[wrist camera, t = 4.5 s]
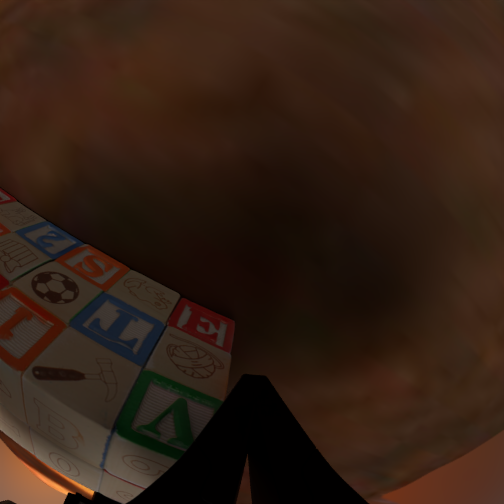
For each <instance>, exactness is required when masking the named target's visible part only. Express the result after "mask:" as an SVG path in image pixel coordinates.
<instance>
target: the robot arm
mask: <svg viewBox="0 0 504 504" xmlns="http://www.w3.org/2000/svg"><path fill="white" fill-rule="evenodd" d="M247 454H248V463H249V475H250V486H251V498H252V504H369V503H368V502H367V501H366V500H364V499H363V498H362V497H361V496H360V495H359V494H358V493H357V492H356V491H355V490H354V489H353V488H352V487H350V486H349V485H348V484H347V483H346V482H345V481H344V480H343V479H342V478H341V477H340V476H339V475H338V474H337V473H336V471H335V470H334V469H333V468H332V467H331V466H330V465H329V463H328V462H327V461H326V460H325V458H324V457H323V456H322V454H321V453H320V452H319V450H318V449H316V446H315V445H314V444H313V442H312V441H311V440H310V438H309V437H308V435H307V434H306V433H305V431H304V430H303V428H302V427H301V426H300V424H299V423H298V421H297V420H296V419H295V417H294V416H293V414H292V413H291V411H290V410H289V409H288V407H287V406H286V404H285V403H284V401H283V400H282V398H281V397H280V396H279V394H278V393H277V391H276V390H275V388H274V387H273V385H272V384H271V382H270V381H269V379H268V378H267V377H266V376H263V375H251V374H243V375H242V376H241V378H240V379H239V381H238V382H237V383H236V385H235V386H234V388H233V389H232V390H231V392H230V393H229V395H228V396H227V397H226V399H225V400H224V401H223V403H222V404H221V406H220V407H219V408H218V410H217V411H216V412H215V414H214V415H213V416H212V418H211V419H210V420H209V422H208V423H207V424H206V426H205V427H204V428H203V430H202V431H201V432H200V434H199V435H198V436H197V437H196V439H195V441H193V442H192V444H191V445H190V446H189V447H188V449H187V450H186V451H185V452H184V453H183V455H182V456H181V457H180V458H179V459H178V460H177V461H176V462H175V463H174V464H173V465H172V466H171V467H170V468H169V469H168V470H167V471H166V472H165V473H164V474H162V475H161V476H160V477H159V478H158V479H157V480H155V481H154V482H153V483H152V484H151V485H150V486H148V487H147V488H146V489H145V490H144V491H142V492H141V493H140V494H139V495H137V496H136V497H135V498H133V499H132V500H130V501H129V502H127V503H125V504H236V501H237V497H238V493H239V489H240V484H241V480H242V476H243V471H244V467H245V463H246V458H247ZM0 504H16V503H14V502H12V501H10V500H6V501H1V502H0ZM64 504H122V503H120V502H118V501H115V500H113V499H111V498H109V497H106V496H104V495H103V494H101V493H100V492H96V491H95V492H94V494H93V497H92V499H91V500H89V499H87V498H86V497H84V496H82V494H80V493H78V492H76V495H75V494H72V493H69V492H68V495H67V497H66V499H65V501H64Z"/></svg>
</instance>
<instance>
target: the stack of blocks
mask: <svg viewBox="0 0 504 504" xmlns="http://www.w3.org/2000/svg"><path fill="white" fill-rule="evenodd" d="M234 329H235V321H233V320H231V319H229V318H226V317H224V316H222V315H220V314H217V313H215V312H213V311H211V310H209V309H206V308H204V307H202V306H200V305H198V304H196V303H193V302H191V301H189V300H187V299H186V298H181V296H180V294H179V293H177V292H175V291H173V290H171V289H169V288H167V287H165V286H163V285H161V284H159V283H157V282H155V281H153V280H151V279H149V278H148V277H146V276H144V275H142V274H140V273H138V272H136V271H133V270H130V269H129V268H128V267H127V266H125V265H124V264H122V263H120V262H118V261H116V260H115V259H113V258H111V257H109V256H108V255H106V254H104V253H103V252H101V251H99V250H97V249H95V248H94V247H92V246H91V245H89V244H84V243H83V242H81V241H80V240H78V239H76V238H75V237H73V236H71V235H69V234H68V233H66V232H65V231H63V230H61V229H60V228H58V227H56V226H55V225H53V224H52V223H50V222H47V221H46V220H45V219H43V218H42V217H40V216H39V215H37V214H35V213H34V212H32V211H31V210H29V209H28V208H26V207H25V206H23V205H22V204H21V203H19V202H17V200H16V199H15V198H14V197H12V196H11V195H9V194H8V193H7V192H5V191H4V190H2V189H1V188H0V430H1V431H3V432H4V433H5V434H6V435H8V436H9V437H10V438H11V439H13V440H14V441H15V442H17V443H18V444H19V445H21V446H22V447H23V448H25V449H26V450H28V451H29V452H31V453H32V454H34V455H35V456H36V457H37V458H38V459H40V460H41V461H43V462H44V463H46V464H47V465H49V466H50V467H52V468H53V469H55V470H57V471H58V472H60V473H62V474H63V475H65V476H67V477H69V478H70V479H72V480H74V481H76V482H78V483H80V484H82V485H84V486H85V487H87V488H89V489H91V490H94V491H96V492H100V493H101V494H103V495H104V496H106V497H109V498H111V499H113V500H115V501H118V502H120V503H122V504H125V503H127V502H129V501H130V500H132V499H133V498H135V497H136V496H137V495H139V494H140V493H141V492H142V491H144V490H145V489H146V488H147V487H148V486H150V485H151V484H152V483H153V482H154V481H155V480H157V479H158V478H159V477H160V476H161V475H162V474H164V473H165V472H166V471H167V470H168V469H169V468H170V467H171V466H172V465H173V464H174V463H175V462H176V461H177V460H178V459H179V458H180V457H181V456H182V455H183V453H184V452H185V451H186V450H187V449H188V447H189V446H190V445H191V444H192V442H193V441H195V439H196V437H197V436H198V435H199V434H200V432H201V431H202V430H203V428H204V427H205V426H206V424H207V423H208V422H209V420H210V419H211V418H212V416H213V415H214V414H215V412H216V411H217V410H218V408H219V407H220V406H221V404H222V403H223V401H224V400H225V396H226V392H227V386H228V379H229V371H230V364H231V355H230V353H231V349H232V342H233V336H234Z"/></svg>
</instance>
